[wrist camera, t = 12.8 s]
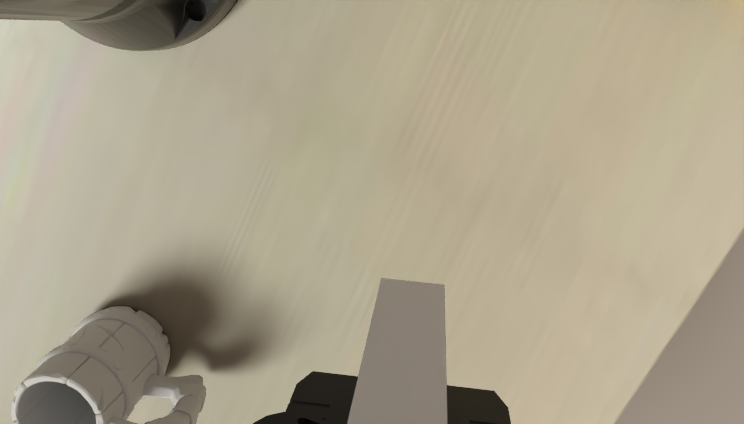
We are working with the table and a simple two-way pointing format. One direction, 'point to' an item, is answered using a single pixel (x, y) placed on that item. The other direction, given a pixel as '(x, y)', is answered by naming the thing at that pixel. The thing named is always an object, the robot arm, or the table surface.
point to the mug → (107, 375)
